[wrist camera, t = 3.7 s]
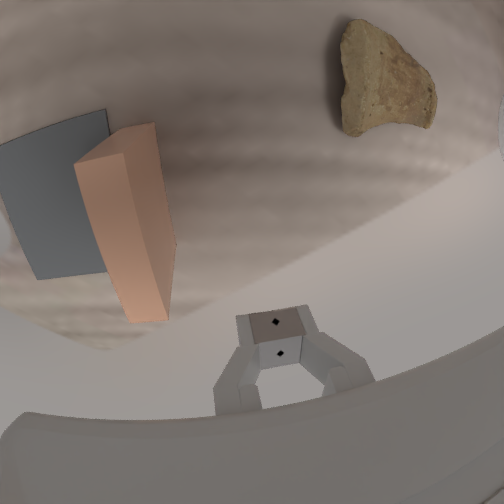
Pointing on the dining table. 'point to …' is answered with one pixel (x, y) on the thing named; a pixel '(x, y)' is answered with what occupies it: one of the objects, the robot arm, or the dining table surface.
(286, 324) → the robot arm
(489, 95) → the dining table surface
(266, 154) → the dining table surface
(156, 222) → the tile
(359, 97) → the pottery shard
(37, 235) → the mat
